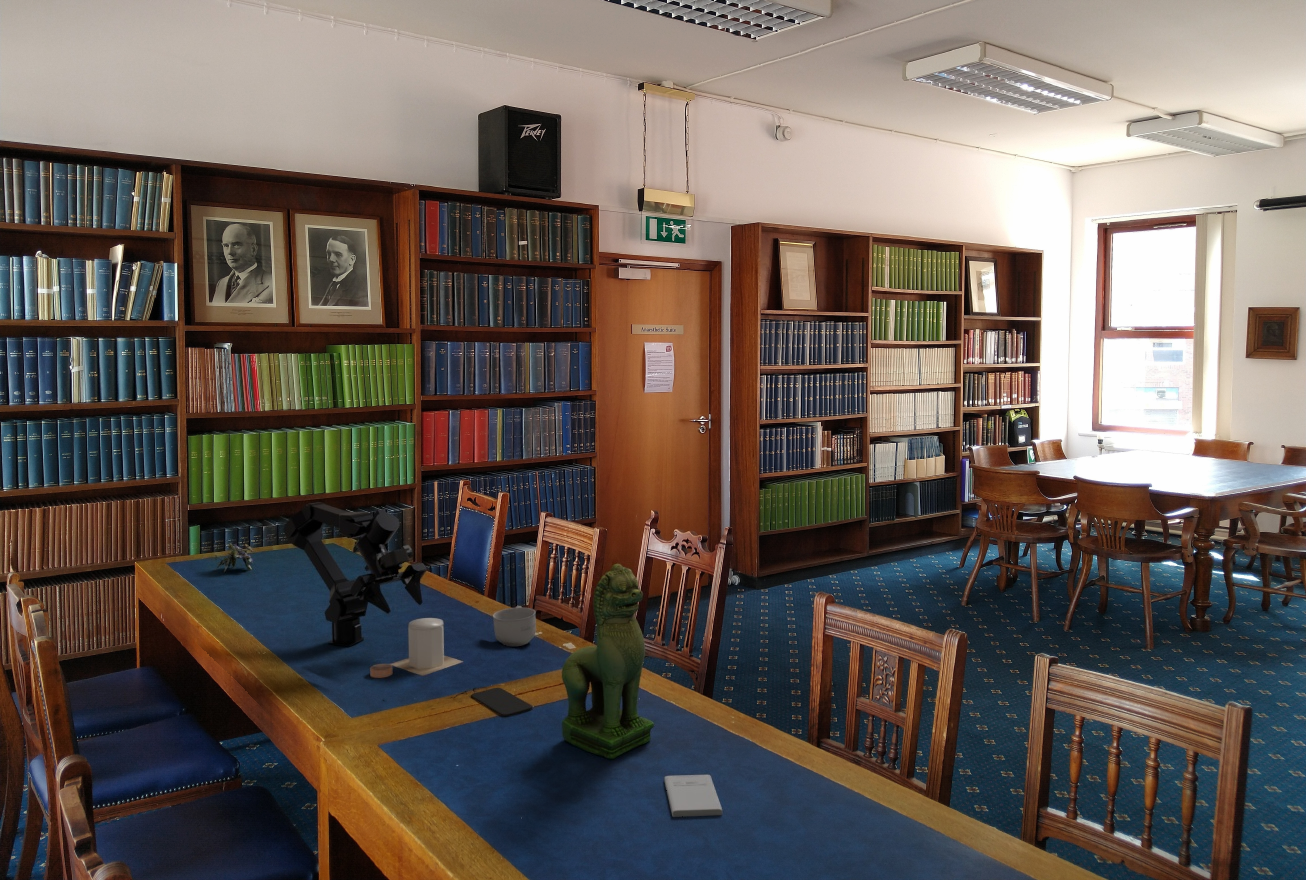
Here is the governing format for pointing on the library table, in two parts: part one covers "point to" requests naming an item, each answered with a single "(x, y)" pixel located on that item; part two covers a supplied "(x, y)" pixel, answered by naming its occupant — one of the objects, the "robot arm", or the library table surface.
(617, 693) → the lion statue
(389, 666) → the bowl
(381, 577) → the robot arm
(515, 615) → the teacup
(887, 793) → the library table surface
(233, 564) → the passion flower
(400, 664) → the cork pad
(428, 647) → the white faceted jar
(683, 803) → the external hard drive
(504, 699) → the phone
